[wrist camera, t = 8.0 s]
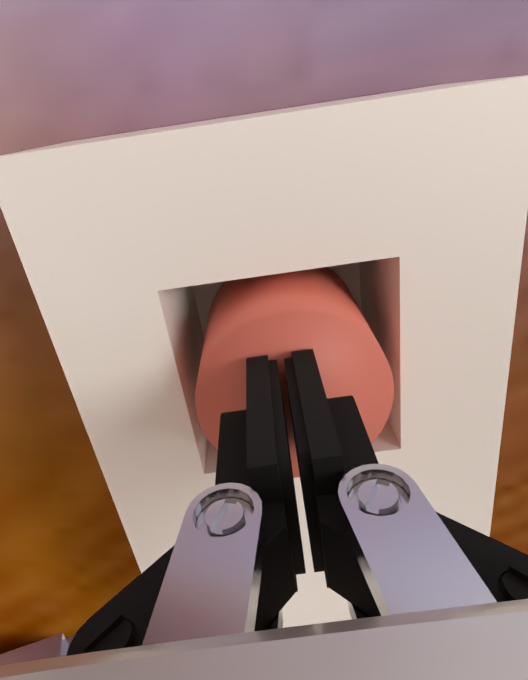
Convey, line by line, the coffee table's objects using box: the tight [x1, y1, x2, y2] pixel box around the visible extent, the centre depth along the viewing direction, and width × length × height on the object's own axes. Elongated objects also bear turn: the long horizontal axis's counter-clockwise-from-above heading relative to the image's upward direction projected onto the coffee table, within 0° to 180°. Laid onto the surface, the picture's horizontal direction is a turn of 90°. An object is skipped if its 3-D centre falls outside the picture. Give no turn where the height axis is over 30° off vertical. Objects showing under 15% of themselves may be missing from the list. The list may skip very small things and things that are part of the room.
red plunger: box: [195, 267, 394, 478], centre depth 14 cm, size 5×5×4 cm
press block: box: [0, 75, 528, 628], centre depth 19 cm, size 12×27×6 cm, turn 8°
